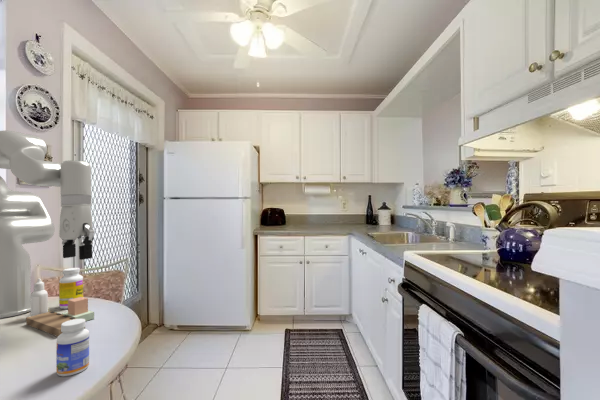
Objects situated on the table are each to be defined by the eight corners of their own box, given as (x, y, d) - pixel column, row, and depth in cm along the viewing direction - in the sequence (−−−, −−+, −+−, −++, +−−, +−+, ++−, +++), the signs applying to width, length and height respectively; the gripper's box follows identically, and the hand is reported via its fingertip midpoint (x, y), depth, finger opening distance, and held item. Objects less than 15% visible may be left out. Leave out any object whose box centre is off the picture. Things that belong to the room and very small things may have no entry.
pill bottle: (51, 373, 60) (50, 324, 60) (81, 360, 65) (80, 315, 65) (65, 379, 57) (64, 329, 58) (95, 366, 62) (94, 319, 63)
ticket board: (26, 324, 87) (26, 317, 87) (51, 317, 92) (51, 310, 92) (59, 337, 78) (59, 328, 78) (85, 328, 83) (85, 320, 83)
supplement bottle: (77, 308, 101) (77, 270, 101) (54, 310, 99) (54, 271, 100) (87, 302, 107) (86, 266, 108) (66, 304, 106) (65, 267, 106)
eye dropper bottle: (28, 321, 90) (28, 281, 90) (31, 316, 94) (31, 278, 94) (47, 318, 92) (47, 279, 92) (49, 313, 97) (49, 276, 97)
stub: (61, 320, 90) (61, 299, 90) (80, 314, 94) (80, 295, 94) (75, 324, 86) (75, 303, 86) (94, 318, 90) (94, 298, 90)
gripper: (48, 202, 92) (49, 258, 91) (76, 200, 83) (77, 261, 83) (76, 202, 98) (77, 255, 98) (105, 200, 90) (106, 257, 89)
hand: (77, 258), depth 90 cm, fingers open, 9 cm apart
